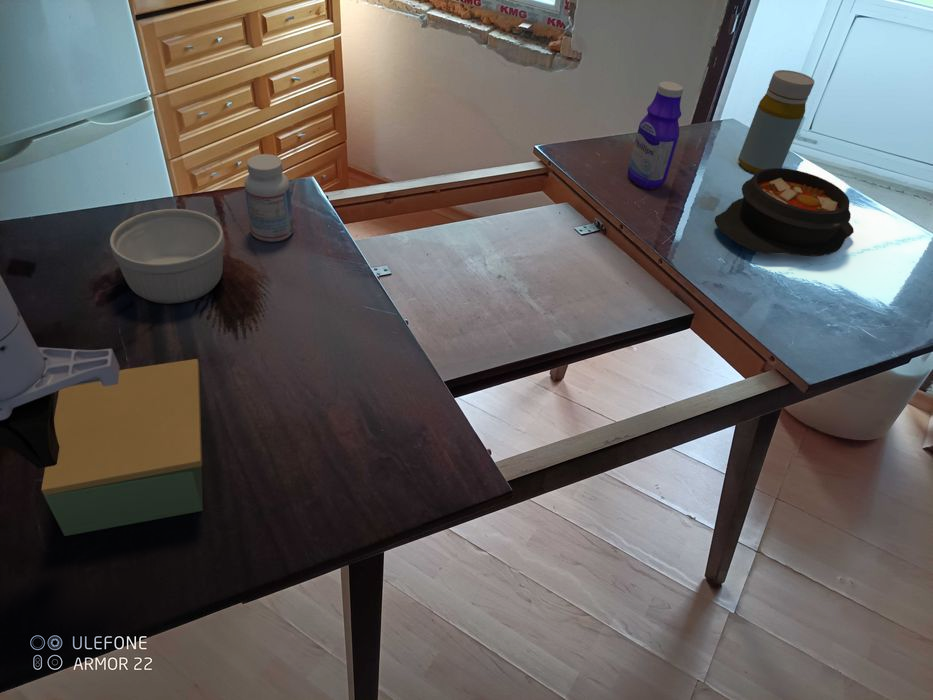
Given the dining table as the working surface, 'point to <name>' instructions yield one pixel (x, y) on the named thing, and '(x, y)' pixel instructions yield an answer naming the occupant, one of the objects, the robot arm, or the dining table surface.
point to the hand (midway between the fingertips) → (48, 457)
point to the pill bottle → (268, 198)
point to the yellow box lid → (127, 427)
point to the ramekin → (169, 254)
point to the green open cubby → (128, 501)
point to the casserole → (788, 214)
